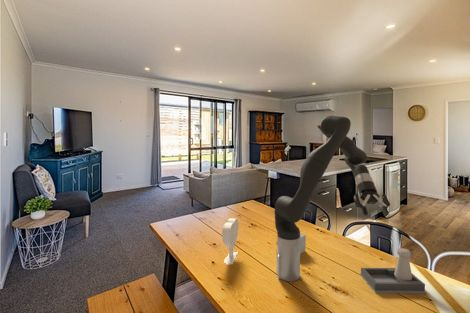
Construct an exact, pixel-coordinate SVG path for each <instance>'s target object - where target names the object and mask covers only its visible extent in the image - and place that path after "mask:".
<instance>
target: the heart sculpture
mask: <svg viewBox="0 0 470 313" xmlns="http://www.w3.org/2000/svg"><path fill="white" fill-rule="evenodd" d="M238 234H239V219H238V218H230V217H229V218H228V219H227V222H226V221H225V223H224V224H223V227H222V233H221V235H222V238H221V239H222V243H223V245H224V246H226V247H227V248H228V253H229V254H227V255H228V256H227V255H226V256H227V257H225V258H224V260H223V261H224V263H226V264H225V265H234V263H235V261H236V259H237V257H236V255H237V254H238V252H239V251H237V252H233V251H234V248H235V247H236V243H237V240H238V239H237V238H238ZM238 255H239V254H238ZM235 258H236V259H235ZM234 260H235V261H234ZM233 262H234V263H233ZM224 263H223V264H224Z"/></svg>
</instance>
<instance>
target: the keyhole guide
mask: <svg viewBox="0 0 470 313" xmlns="http://www.w3.org/2000/svg"><path fill="white" fill-rule="evenodd" d="M395 269H396V267H361V268H360V274H359V276H361V278H362V279H363V280H364V281H365V282H366V284H367V285H368V286H369V288H370V289H371V290H372V291H373V292H374V293H375V294H414V295H415V294H417V295H418V294H420V295H421V294H422V295H423V294H424V295H425V294H426V290H425V289H426V283H424V282H423V281H422V280H421V279H420V278H418V277H417V276H416V275H415V274H413V273H412V280H411V281H399V282H397V279H396V277H395V275H394V272H395Z"/></svg>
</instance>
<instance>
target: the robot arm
mask: <svg viewBox="0 0 470 313" xmlns="http://www.w3.org/2000/svg"><path fill="white" fill-rule="evenodd" d="M351 124H352V122H351V120H350V118H348V117H345V116H339V115H337V116H336V115H327V116H324V118H322V120H321V124H320V131H321V133H322V134H323V135H324V136H325V137H326V138H328V140H326V142H325V143H323V144H322V145H320V146H319V147H317V148H316V149H314V150H312V151H311V152H310V153H308V154H307V156H306V158H305V160H304V162H303V164H302V165H301V168H300V172H299V174H300V175H299V176H300V177H299V179H300V180H299V181H300V182H299V187H298V189H297V191H296V193H295V195H294V196H293V197H290V196H287V195H282V196H280V197H278V198H277V200H276V201H275V205H274V224H275V225H274V226H275V229H276V233H277V237H276V238H277V241H276V242H277V248H276V273H277V279H278V280H283V281H286V282H295V281H298V280H299V279H300V278H301V277H300V276H301V254H300V234H301V230H300V228H299V226H298V225H297V223H298V222H300V220H302V218H303V217H304V215H305V213H306V211H307V209H308V206H309V204H310V201H311V200H312V196H313V194H314V193H315V190H316V189H317V186H319V183H320V181H321V179H322V177H323V175H324V174H325V172H326V170H327V169H328V166H329V165H330V163H331V161H332V160H333V157H334V155H335V154H336V152H337V150H338V149H340V151H341V153H342V154H343V155H344V156H345V157H344V162H345V164H346V165H347V166H348V167H349V169H350V170H351V172H352V174H353V177H354V180H355V181H354V182H355V186H356V188H357V191H358V193H359V194H358V193H355V194H354V196H353V200H354V204H355V207H356V208H360V210H361V212H362V214H363V215H364V216H365V217H367V216H368V215H369V212H368V210H367V206H366V204H367V205H376V206H377V207H378V208H381V211H382V213H383V216H384V217H388V215H389V214H390V213H389V210H388V208H389V207H390V206H391V203H390V200H389V199H388V197H387V195H386V194H385V193H383V194H379V193H378V190H377V187H376V185H375V181H374V180H373V178H372V176H371V174H370V172H369V169H368V167H367V166H366V165H365V164H364V163H366V162H367V160H368V155H367V154H366V152H365V151H364V150H363V149H361V148H360V147H358V146H357V145H356V142H354V141H353V140H352V138H350V137H349V136H348V134H349V133H350V132H349V131H350V129H351V126H352V125H351ZM360 199H361V200H362V202H361V200H360Z"/></svg>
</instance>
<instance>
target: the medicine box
mask: <svg viewBox="0 0 470 313" xmlns="http://www.w3.org/2000/svg"><path fill="white" fill-rule="evenodd" d="M306 238H307V237H306V235H305V234H302V233H300V255H303V253H305V252H306V242H307V241H306Z"/></svg>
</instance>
